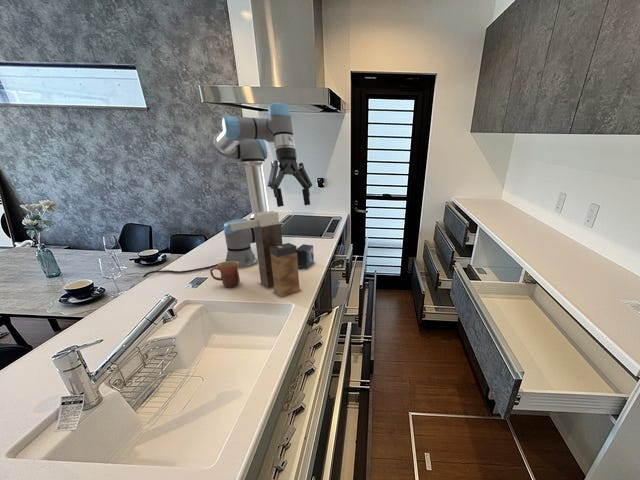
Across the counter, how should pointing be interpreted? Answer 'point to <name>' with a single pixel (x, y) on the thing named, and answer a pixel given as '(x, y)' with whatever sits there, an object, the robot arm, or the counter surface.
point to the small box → (305, 256)
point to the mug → (228, 273)
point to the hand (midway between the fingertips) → (294, 205)
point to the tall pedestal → (267, 250)
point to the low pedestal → (285, 274)
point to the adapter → (283, 249)
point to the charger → (257, 221)
